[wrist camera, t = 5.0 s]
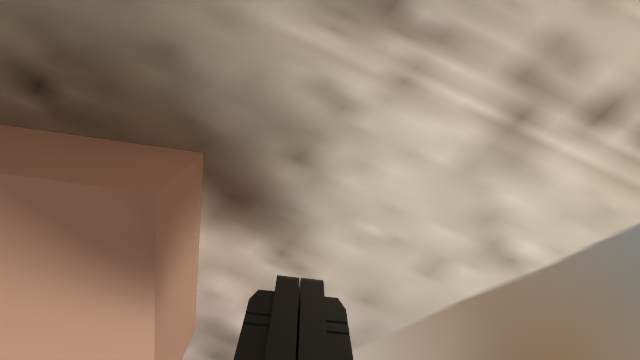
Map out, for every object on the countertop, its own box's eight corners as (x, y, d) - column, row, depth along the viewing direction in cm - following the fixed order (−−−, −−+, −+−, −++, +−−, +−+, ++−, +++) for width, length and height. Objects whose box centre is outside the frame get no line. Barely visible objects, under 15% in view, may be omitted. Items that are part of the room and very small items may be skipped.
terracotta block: (-22, 119, 13) (-192, 148, 8) (205, 151, 13) (156, 193, 9) (6, 305, 15) (-114, 401, 11) (196, 325, 16) (153, 423, 11)
